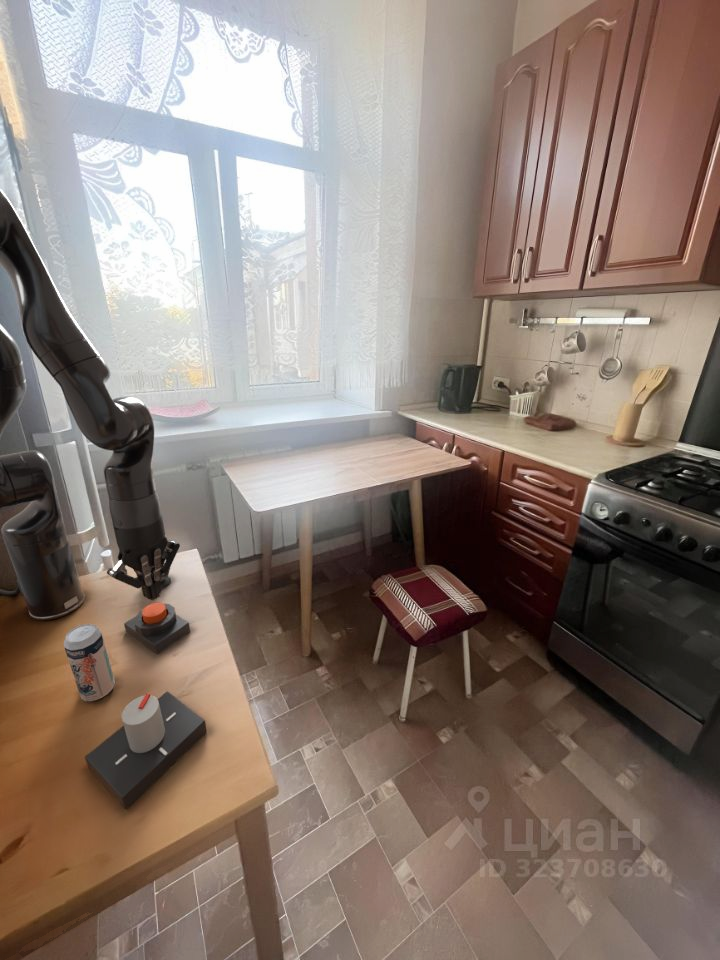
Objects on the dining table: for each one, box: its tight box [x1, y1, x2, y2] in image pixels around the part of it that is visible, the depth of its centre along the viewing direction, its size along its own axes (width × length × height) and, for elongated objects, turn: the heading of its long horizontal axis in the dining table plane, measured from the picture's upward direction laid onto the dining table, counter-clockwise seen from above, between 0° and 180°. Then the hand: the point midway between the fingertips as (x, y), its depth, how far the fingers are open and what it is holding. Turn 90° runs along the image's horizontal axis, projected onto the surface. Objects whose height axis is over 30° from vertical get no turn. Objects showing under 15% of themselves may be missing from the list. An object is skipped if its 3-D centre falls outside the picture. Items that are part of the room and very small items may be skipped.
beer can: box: [63, 623, 116, 702], centre depth 62 cm, size 5×5×12 cm
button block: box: [123, 603, 191, 655], centre depth 75 cm, size 10×7×4 cm
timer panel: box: [84, 691, 208, 811], centre depth 55 cm, size 9×12×3 cm
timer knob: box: [121, 693, 165, 753], centre depth 53 cm, size 4×4×6 cm
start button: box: [141, 602, 167, 624], centre depth 74 cm, size 4×4×2 cm
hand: (153, 597), depth 74 cm, fingers closed
